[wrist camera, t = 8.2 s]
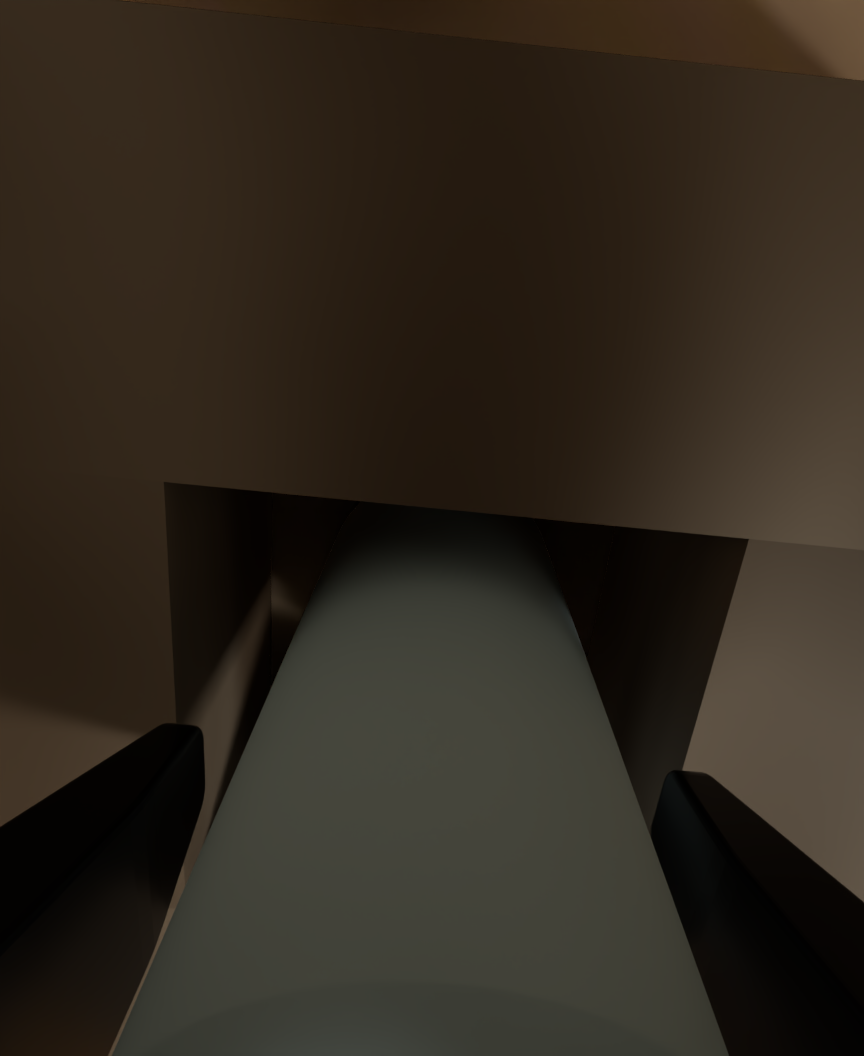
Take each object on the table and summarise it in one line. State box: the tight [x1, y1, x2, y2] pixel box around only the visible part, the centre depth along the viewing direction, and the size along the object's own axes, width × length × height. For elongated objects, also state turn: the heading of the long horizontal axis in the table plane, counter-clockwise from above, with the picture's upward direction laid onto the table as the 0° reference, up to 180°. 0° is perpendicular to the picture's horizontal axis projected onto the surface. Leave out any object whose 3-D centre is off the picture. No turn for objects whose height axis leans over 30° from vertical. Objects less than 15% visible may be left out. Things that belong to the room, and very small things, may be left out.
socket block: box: [0, 0, 864, 1056], centre depth 10 cm, size 14×14×4 cm
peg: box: [112, 501, 729, 1056], centre depth 8 cm, size 4×4×9 cm
